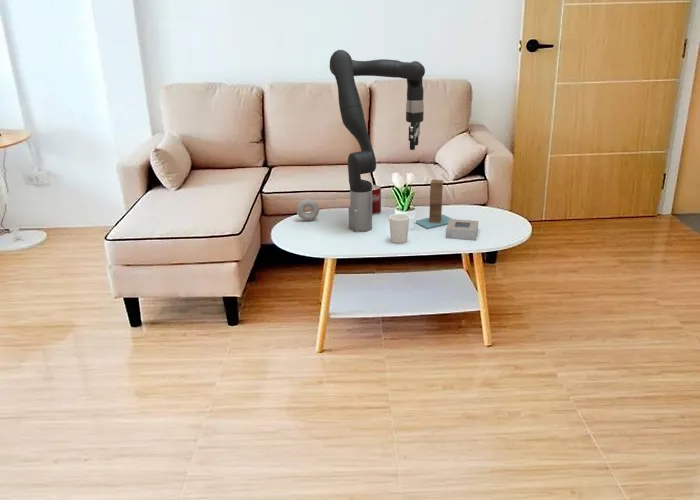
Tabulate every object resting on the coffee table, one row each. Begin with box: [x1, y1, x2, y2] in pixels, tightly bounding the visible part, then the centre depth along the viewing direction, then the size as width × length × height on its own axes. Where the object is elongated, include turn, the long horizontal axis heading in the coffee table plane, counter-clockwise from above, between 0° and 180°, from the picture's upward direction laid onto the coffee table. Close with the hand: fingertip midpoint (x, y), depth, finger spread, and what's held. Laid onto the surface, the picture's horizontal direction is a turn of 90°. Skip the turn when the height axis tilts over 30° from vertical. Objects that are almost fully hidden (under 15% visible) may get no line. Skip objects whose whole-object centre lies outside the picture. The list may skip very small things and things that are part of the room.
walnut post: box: [428, 179, 444, 223], centre depth 269 cm, size 5×5×18 cm
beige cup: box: [389, 213, 410, 244], centre depth 253 cm, size 8×8×10 cm
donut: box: [296, 198, 320, 221], centre depth 276 cm, size 10×3×10 cm, turn 98°
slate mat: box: [415, 214, 453, 230], centre depth 273 cm, size 16×10×1 cm, turn 119°
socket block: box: [445, 218, 479, 241], centre depth 259 cm, size 12×12×4 cm
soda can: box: [372, 184, 382, 215], centre depth 284 cm, size 7×7×12 cm
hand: (414, 147), depth 274 cm, fingers open, 8 cm apart
